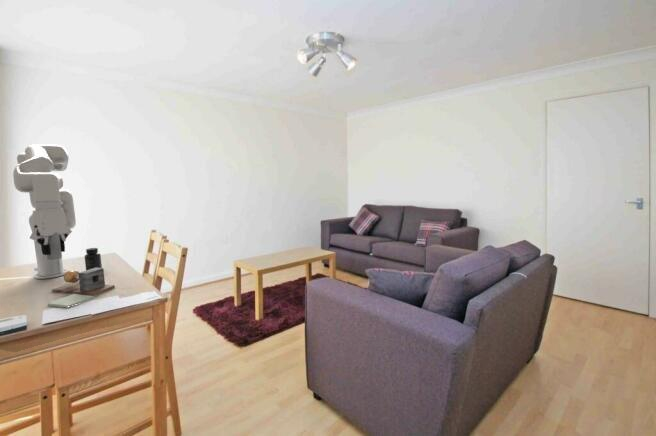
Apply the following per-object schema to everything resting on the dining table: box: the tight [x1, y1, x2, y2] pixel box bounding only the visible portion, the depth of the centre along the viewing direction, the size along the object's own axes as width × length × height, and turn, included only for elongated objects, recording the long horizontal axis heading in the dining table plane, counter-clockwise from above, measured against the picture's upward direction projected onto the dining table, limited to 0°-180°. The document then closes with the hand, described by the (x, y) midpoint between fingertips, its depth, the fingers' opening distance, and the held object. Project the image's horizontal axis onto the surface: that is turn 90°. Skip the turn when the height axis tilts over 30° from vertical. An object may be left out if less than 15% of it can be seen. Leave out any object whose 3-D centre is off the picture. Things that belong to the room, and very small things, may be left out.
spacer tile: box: [47, 294, 94, 308], centre depth 128 cm, size 10×10×1 cm
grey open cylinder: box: [46, 233, 63, 260], centre depth 126 cm, size 4×4×10 cm
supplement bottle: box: [83, 247, 103, 271], centre depth 168 cm, size 7×7×12 cm
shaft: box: [63, 270, 93, 284], centre depth 142 cm, size 12×5×5 cm, turn 76°
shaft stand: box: [51, 267, 116, 297], centre depth 141 cm, size 22×10×9 cm, turn 76°
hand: (54, 252), depth 127 cm, fingers closed on grey open cylinder, 4 cm apart
